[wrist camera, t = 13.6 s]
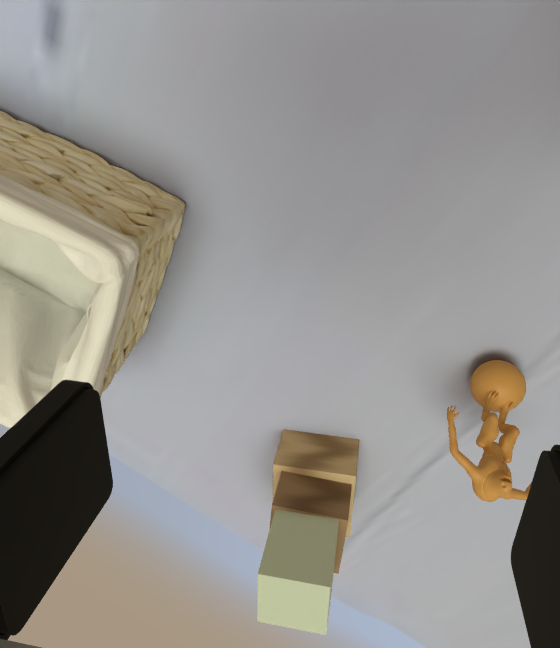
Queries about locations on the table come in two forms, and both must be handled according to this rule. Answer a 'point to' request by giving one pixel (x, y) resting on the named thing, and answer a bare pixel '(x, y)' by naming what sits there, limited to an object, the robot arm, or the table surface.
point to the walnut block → (315, 502)
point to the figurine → (493, 430)
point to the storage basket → (73, 264)
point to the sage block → (297, 571)
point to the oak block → (318, 459)
